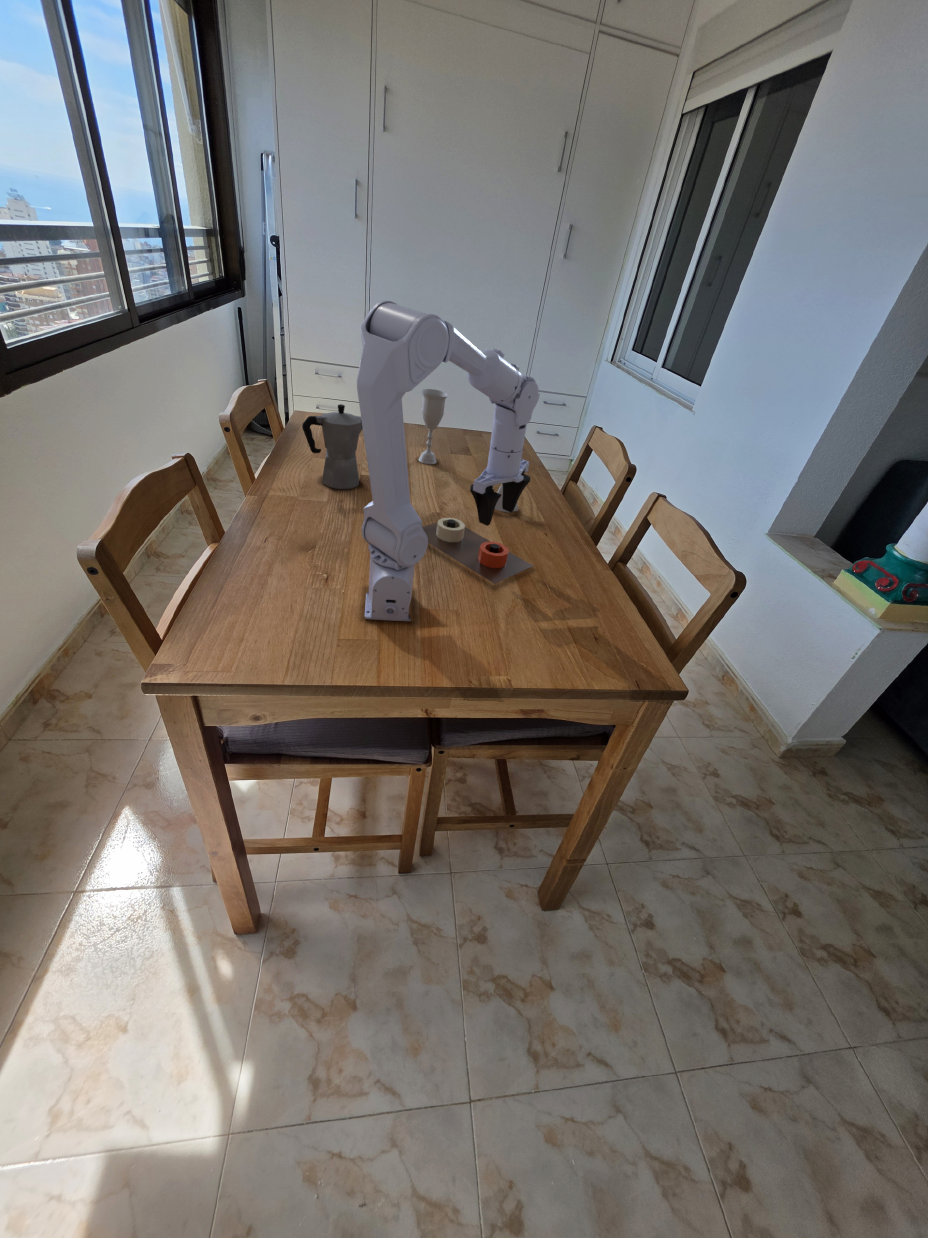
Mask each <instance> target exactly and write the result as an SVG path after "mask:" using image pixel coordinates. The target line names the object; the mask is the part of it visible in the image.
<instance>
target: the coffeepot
mask: <svg viewBox="0 0 928 1238" xmlns="http://www.w3.org/2000/svg"><path fill="white" fill-rule="evenodd" d="M345 407H346V405H344V404H337V409H338V411H332V412H325V413H321V415H309V416H307V417H306V418H305V420H304V421H303V422H302V424H301V428H302V432H303V433H304V435H305V436H304V437H305V438H306V441H307V444H308V447H309V450H310V452H311V453H312V454H320V453H321V452H322V449H321V448H317V447H316V442H315V439H314V437H313V431H312V428H311V426H312V425H313V426H320V427H321V429H322V430H321V431H322V435H323V443H324V448H325V458H324V465H323V472H322V479H321V483H322V484H323V485H324V486H326V487H328V488H331V489H334V490H335V489H336V490H352V489H355V488H356V487H358V486H359V485H360V477H359V469H358V462H357V456H356V455H357V454H356V453H357V452H356V451H357V450H358V443H359V437H360V434H361V433H362V432H363V427H362V420H361V415H360V416H359V415H354V414H352V413H350V412H345Z"/></svg>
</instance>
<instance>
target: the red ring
mask: <svg viewBox="0 0 928 1238" xmlns="http://www.w3.org/2000/svg"><path fill="white" fill-rule="evenodd" d="M491 544H497V545H499V552H498V553H492V552H489V550H490V545H491ZM509 552H510V550H509V548H508V547H507V545H505V544H503V543H500V542H497V541H491V542H484V543H482V544H481V546H480V549H479V555H478V560H479V562H480V563H481V564H483V565H484V566H486V567H490V568H501V567H504V566H505V565H506V562H507V557H508V553H509Z"/></svg>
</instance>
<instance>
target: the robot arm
mask: <svg viewBox="0 0 928 1238" xmlns="http://www.w3.org/2000/svg"><path fill="white" fill-rule="evenodd" d="M359 329H360V339H361V346H362V349H361V350H362V351H361V356H360V361H359V366H358V372H357V378H356V391H357V397H358V404H359V413H360V417H361V420H362V427H363V429H362V434H363V440H364V441H363V442H364V448H365V455H366V462H367V469H368V477H369V483H370V484H369V485H370V493H371V499H372V501H370V502H368V504H366V505H365V506H364V507H363V509H362V510H363V522H362V525H361V536H362V538H363V540H364V542H365V543H367V544H368V545H367V546H368V549H367V550H368V551H369V553H370V555H369V558H370V559H369V575H368V576H369V579H368V592H366V593H365V603H364V604H365V607H364V619H366V620H374V621H392V622H393V621H394V622H412V619H411V617H410V604H411V602H412V597H413V595H412V594H413V586H414V584H413V583H414V575H415V565H417V564H418V563H419V562H420V561H421V560H422V559H423V558H424V556H425V555H426V552H427V549H428V547H429V543H428V537H427V535H426V533H425V532H424V530H423V528H422V527H423V521H422V519H421V516H420V515H419V514H418V512H417V511H416V509H415V508H414V506H413V504H412V502H411V494H410V493H411V492H410V482H409V470H408V469H409V468H408V459H407V447H406V445H407V444H406V434H405V422H404V411H403V410H404V409H403V397H404V396H405V394H406V393H408V392H411V391H413V390H414V389H415V388H416V387H417V386H419V385H420V384H421V383H422V382H423V381H424V380H425V379H426V378H427V377H429V375H431V374H432V373H433V372H434V371H435V370H436V369H437V368H439V366H440V365H441V364H442V363H445V364H446V363H448V362H450V363H452V364H454V365H455V366H457V367H458V368H460V369H461V370H463V371H465V372H466V373H467V379H468V383H469V384H470V385H471V387H472V388H474V389H476V390H477V391H479V392H480V393H482V394H483V395H485V396H486V397H488V399H489V402H490V403H491V405H492V404H494V410H493V418H492V419H493V420H492V426H491V427H492V428H491V435H490V443H489V450H488V460H487V466H486V467H485V468H484V470H483V471H482V473H480V475H479V476H477V478H475V479H474V480H473V483H472V484H470V488H469V491H470V493H471V495H472V498H473V500H474V502H475V506H476V510H477V517H478V523H480V524H482V525H485V526H487V527H489V526H490V525H491V523H492V519H493V517H494V512H495V510H496V509H495V506H496V504H497V502H498V500H499V498H500V497H501V494H499V493H497V491H495V489H494V486H497V485H501V484H503V498H502V508H503V509H504V510H506V511H509V512H510V513H513V510H514V508H515V506H516V504H517V505H518V502H519V499H520V497H521V495H522V493H523V491H524V490H525V488H526V487H527V485H528V484H529V483H530V482H531V476H530V475H527V474H526V473H527V472H529V466H530V461H528V460H526V459H523V458H522V457H523V451H524V444H525V438H526V432H527V427H528V426H527V425H528V424H530V422H531V420H532V415H533V412H534V410H535V408H536V406H537V404H538V403H539V399H540V396H541V394H540V393H539V390H540V389H539V385H538V384H537V382H536V380H535V378H534V377H532V376H529V375H527V374H523V373H521V371H520V367H519V365H517V364H515V363H510V362H509V361H508V360H506V359H505V358H504V357H505V355H506V354H505V353H504V352H503V351H502V350H501V349H498V348H494V347H493V348H492V349H490V348H487V349H482V350H480V349H479V348H478V347H477V346H476V345H474V344H473V343H472V342H471V341H470V340H469V339H468V338H466V337H465V336H464V334H462V333H461V331H459V330H457V329H456V327H454V324H453V323H451V322H449V321H447V320H444V319H443V318H442V317H441V316H439V315H438V314H434V313H426V312H423V311H419V310H416V309H414V308H413V309H412V308H410V307H406V306H404V305H400V304H398V303H396V302H394V301H391V300H388V299H387V300H386V299H385V300H381V301H379V302H377V303H376V304H374V305H373V306H372V308H371V309H370V310H369V312H368V314H367V315H366V316H365V318H364V319H363V320H362V322H361V324H360V325H359Z"/></svg>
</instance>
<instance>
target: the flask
mask: <svg viewBox="0 0 928 1238" xmlns="http://www.w3.org/2000/svg"><path fill="white" fill-rule="evenodd" d="M496 493H499V494H501V497H500V498H499V500H498V502H497V504H496V506H495V509H494V510H496V511H499V512H504V513H511V512H509V511H506V510H504V509H503V508H502V498H503V484H502V483H501V484H500V486H499V488H498V490H497V491H496ZM518 511H519V505H518V503H517V504H516V506H515V508H514V510H513V512H518ZM513 512H512V513H513Z"/></svg>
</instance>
